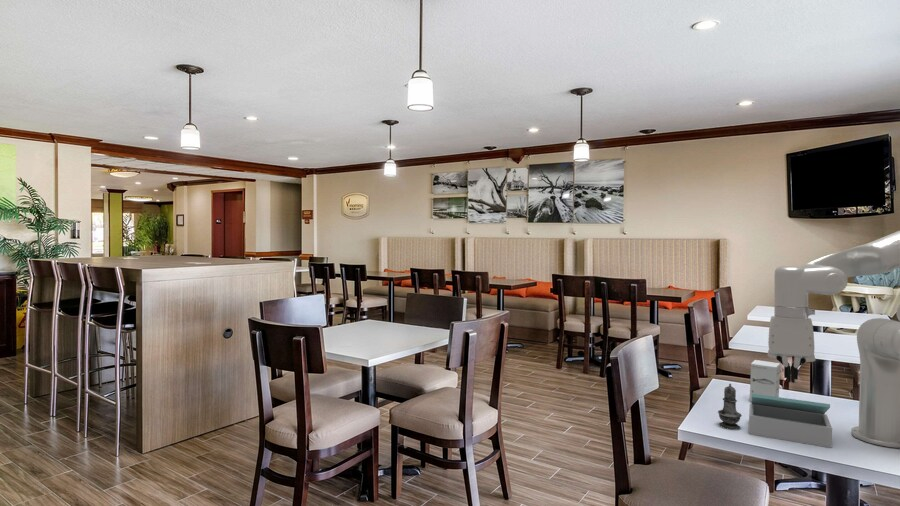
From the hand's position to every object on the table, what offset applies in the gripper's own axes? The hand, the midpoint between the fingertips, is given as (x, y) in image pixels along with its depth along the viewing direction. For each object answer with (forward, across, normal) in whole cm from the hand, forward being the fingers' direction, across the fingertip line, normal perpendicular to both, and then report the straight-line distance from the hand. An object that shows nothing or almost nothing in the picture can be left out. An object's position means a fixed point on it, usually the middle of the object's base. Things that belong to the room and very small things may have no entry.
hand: (790, 381), depth 138 cm
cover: (+7, +1, -1) cm, 7 cm away
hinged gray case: (+14, +1, -1) cm, 14 cm away
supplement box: (+15, +6, -30) cm, 34 cm away
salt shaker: (+14, +14, +1) cm, 20 cm away
